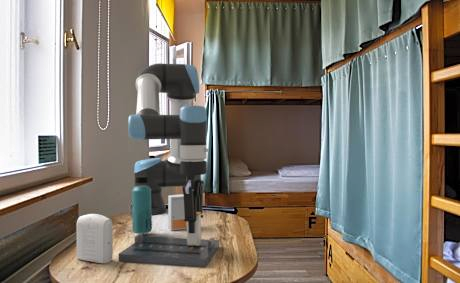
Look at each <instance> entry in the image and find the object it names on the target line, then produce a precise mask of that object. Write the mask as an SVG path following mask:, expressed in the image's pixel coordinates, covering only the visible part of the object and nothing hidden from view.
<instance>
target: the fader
mask: <svg viewBox="0 0 460 283" xmlns="http://www.w3.org/2000/svg"><path fill="white" fill-rule="evenodd" d="M201 215H202V214H201V212H196V221H198V244H197V245H196V244H188V221H187V229H186V239H187V245H196V246H199V245H200V244H201V239H202V223H201V222H202V221H201V220H202V218H201Z"/></svg>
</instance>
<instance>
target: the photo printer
mask: <svg viewBox="0 0 460 283" xmlns="http://www.w3.org/2000/svg"><path fill="white" fill-rule="evenodd" d="M75 225H76V254H75V255H76V259H77V260H81V261H87V262H92V263H96V264H97V263H98V264H108V263H110V262H111V261H112V259H113V254H114V252H113V251H114V250H113V249H114V248H113V247H114V246H113V243H114V242H113V241H114V240H113V238H114V236H113V235H114V234H113V230H114V229H113V228H114V227H113V225H114V223H113V221H112V220H111V218H109V217H107V216H105V215H102V214H98V213H88V214H84V215H80V216H79V217H78V218H77V221H76V224H75Z"/></svg>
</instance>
